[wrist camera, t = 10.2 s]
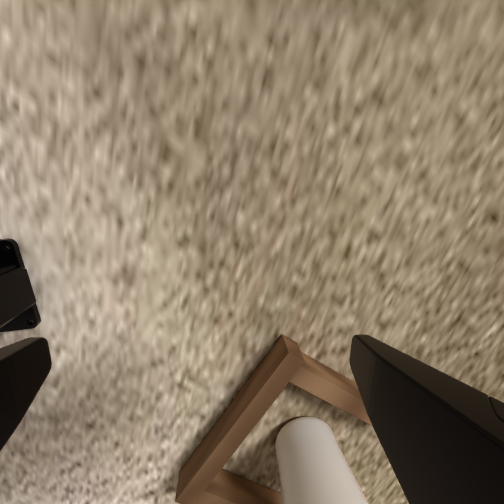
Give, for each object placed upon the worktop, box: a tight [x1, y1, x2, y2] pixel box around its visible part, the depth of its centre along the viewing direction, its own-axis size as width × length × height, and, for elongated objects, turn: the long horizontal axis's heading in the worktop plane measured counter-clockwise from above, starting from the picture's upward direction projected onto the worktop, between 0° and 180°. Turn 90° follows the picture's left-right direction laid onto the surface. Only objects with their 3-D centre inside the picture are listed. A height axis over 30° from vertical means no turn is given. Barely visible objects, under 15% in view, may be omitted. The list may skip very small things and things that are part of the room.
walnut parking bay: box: [175, 335, 372, 504], centre depth 25 cm, size 13×16×3 cm
